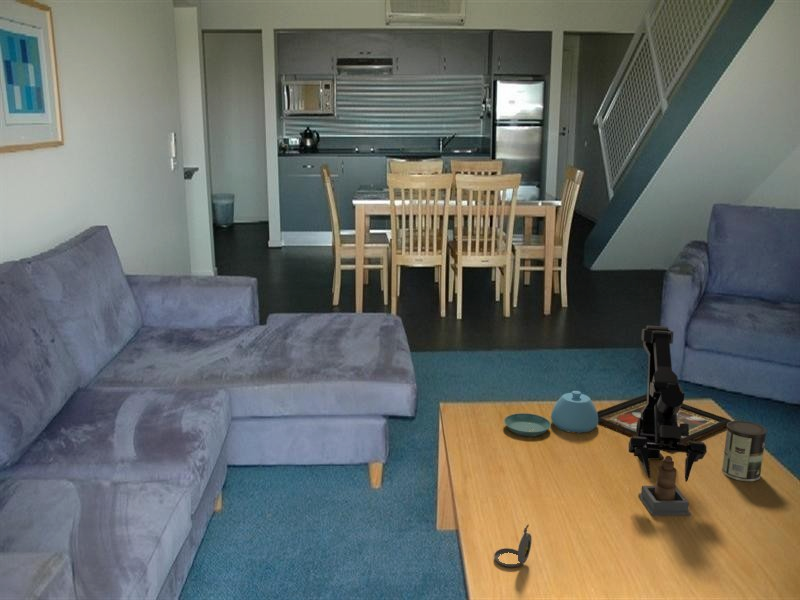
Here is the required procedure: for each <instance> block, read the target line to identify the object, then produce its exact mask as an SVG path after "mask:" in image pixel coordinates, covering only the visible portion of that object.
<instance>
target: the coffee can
mask: <svg viewBox="0 0 800 600" xmlns="http://www.w3.org/2000/svg"><path fill="white" fill-rule="evenodd" d="M767 433H768V430H767V428H766V427H764V426H763V425H761V424H759V423H756V422H752V421H750V420H749V421H748V420H731V422H728V423H727V427H726V434H725V443H724V449H723V450H724V451H723V452H724V453H723V459H722V465H721V466H722V467H721V472H722V473H723V474H724V475H725V477H728V478H730V479H733V480H737V481H740V482H756V481H758V480H760V479H761V476H762V475H761V474H762V473H761V472H762V466H763V460H764V459H763V458H764V457H763V456H764V451H765V446H766V445H765V444H766V437H767V435H768V434H767Z"/></svg>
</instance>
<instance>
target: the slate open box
mask: <svg viewBox="0 0 800 600" xmlns="http://www.w3.org/2000/svg"><path fill="white" fill-rule="evenodd" d="M654 495H655V485H641V492H640V493H638V495H637V496H638V498H639V499H640V501H641V502H642V504H643V506H644V507H645V508H646V510H647V511H648V513H650V516H653V517H654V516H691V514H692V513H691V511H690V509H689V505H690V502H689V501H688V499H687V498H686V497H685V495H683V493H682V492H681V491H680V490H679V488H678V487H677V486H676V492H675V501H656V499H655V498H654Z"/></svg>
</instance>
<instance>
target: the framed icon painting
mask: <svg viewBox="0 0 800 600" xmlns="http://www.w3.org/2000/svg"><path fill="white" fill-rule="evenodd" d="M646 405H647V393H645V394H643V395H639V396H637V397H634V398H631V399H629V400H625V401H622V402H621V403H620V402H619V403H618V404H614V405H611V406H609V407H606V408H604V409H600V410H597V414H598V423H600V424H599V425H601V424H602V425H601V426H603V425H604V426H603V427H606V426H607V428H608V427H609V429H611V430H613V429H614V430H613V431H616V430H617V431H616V432H618V431H619V433H621V432H622V433H621V434H624V435H626V436H629V437H630V438H631V437H632V436H637V432H636V427H637V422H638V419H639V417H641V412H642V410H643V409H644V408H645V406H646ZM731 421H732V420H731V419H729V418H726V417H724V416H720V415H718V414H714V413H711V412H709V411H705V410H703V409H700V408H697V407H693V406H691V405H688V404H686V403H684V402H683V403H682V405H681V408H680V410H679V412H678V413H677V423H678V426H679V427H680V424H681V423H684V424H689V436H681V439H680V442H678V445H688V444H689V442H690V441H695V442H697V441H698V440H699V439H702V438H704V437H706V436H709V435H711V434H713V433H715V431H716V432H718V431H721V430H723V429H725V428H727V423H728V422H731ZM724 427H725V428H724ZM720 429H721V430H720ZM667 452H668V453H670V452H672V451H667Z"/></svg>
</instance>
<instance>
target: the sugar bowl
mask: <svg viewBox="0 0 800 600" xmlns="http://www.w3.org/2000/svg"><path fill="white" fill-rule="evenodd" d="M597 412H598V410H597V408H596V406H595V404H594V402H593V400H592V399H591V397H590V396H588V395H587V394H584V393H582V391H579V390H572V391H571V392H567V393H564V394H562V395H561V396H560V398H559V399H558V400H557V401H556V403H555V404H554V406H553V408H552V411H551V414H550V419H551V422H552V423H553V425H554V426H555V427H556V428H557V427H558V428H557V429H559V430H561V431H563V430H564V432H566V431H569V432H568V433H571V432H577V433H576V434H583V433H582V432H586V433H589V431H590V432H592V431H593V430H594V429H595V428H596V427H597V426H598V425H599V424H598V414H597ZM591 430H592V431H591Z"/></svg>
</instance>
